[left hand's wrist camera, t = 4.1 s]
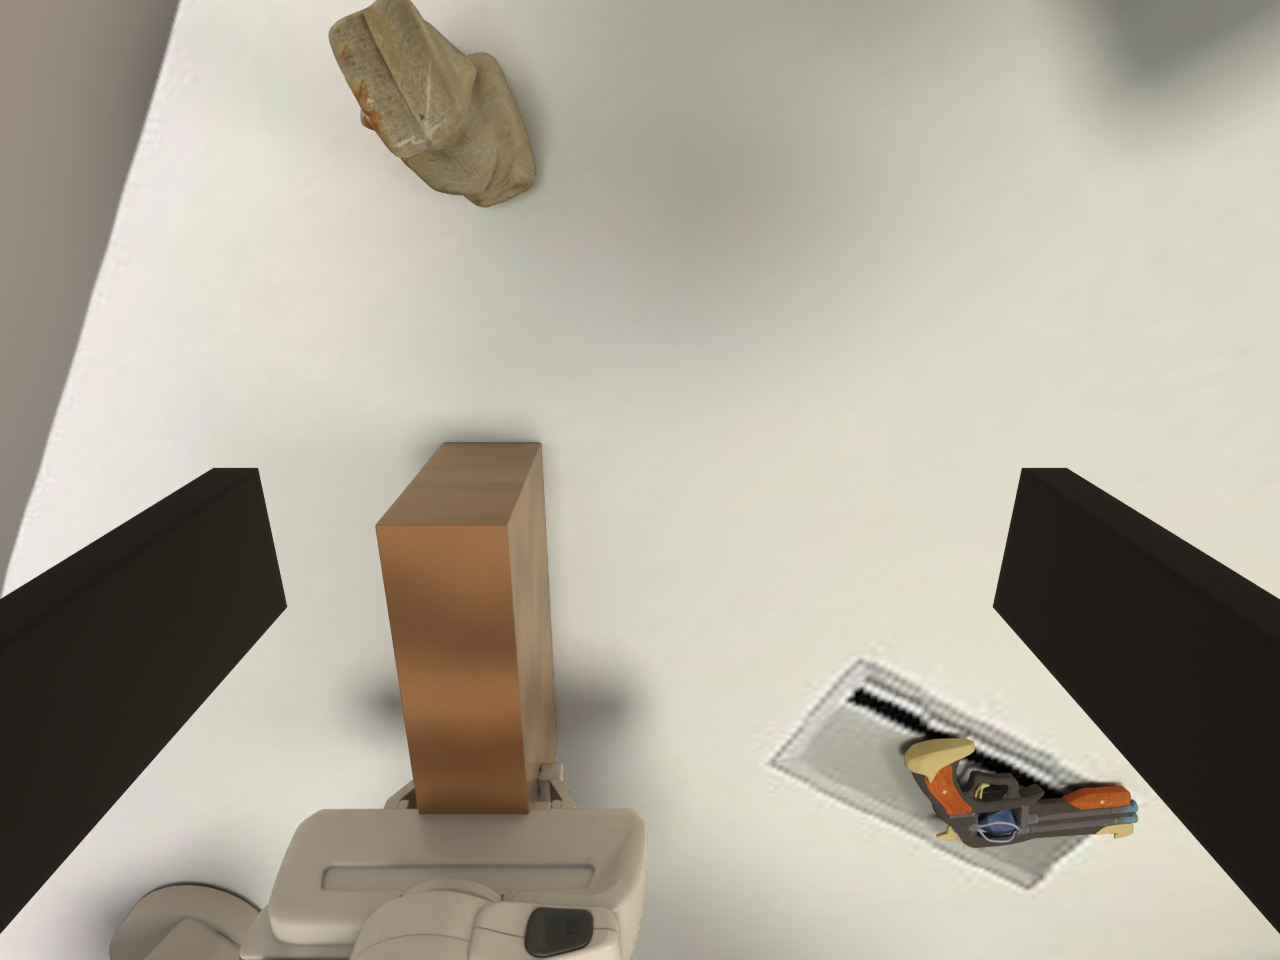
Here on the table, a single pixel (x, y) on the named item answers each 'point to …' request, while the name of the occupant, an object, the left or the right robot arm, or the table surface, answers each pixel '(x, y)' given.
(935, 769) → the toy gun
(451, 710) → the box
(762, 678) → the table surface
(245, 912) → the bust sculpture
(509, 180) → the sculpture
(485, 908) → the right robot arm
